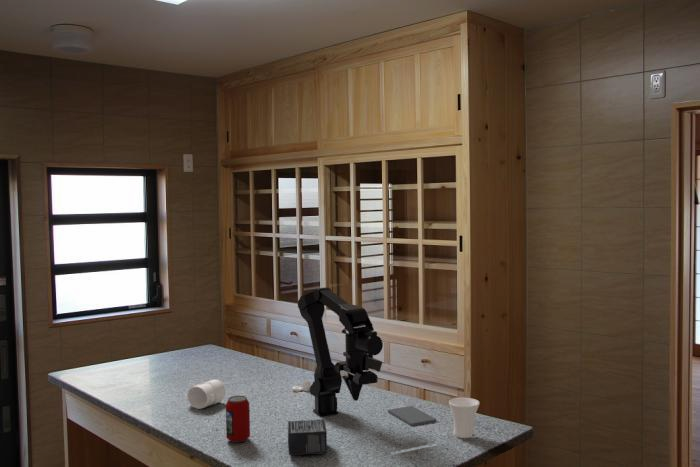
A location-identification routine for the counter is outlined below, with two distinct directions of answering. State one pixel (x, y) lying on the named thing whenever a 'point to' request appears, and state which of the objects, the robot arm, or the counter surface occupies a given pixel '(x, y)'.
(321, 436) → the small box
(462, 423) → the cup
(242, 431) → the beverage can
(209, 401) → the white cylinder
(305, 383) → the teacup and saucer
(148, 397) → the counter surface
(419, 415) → the mat
